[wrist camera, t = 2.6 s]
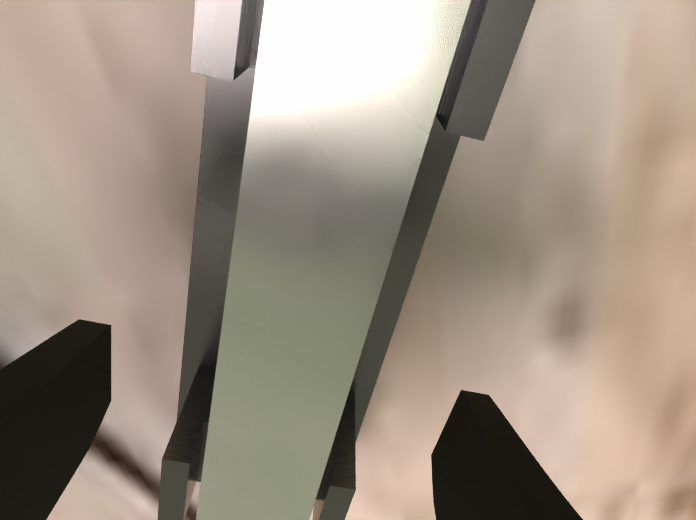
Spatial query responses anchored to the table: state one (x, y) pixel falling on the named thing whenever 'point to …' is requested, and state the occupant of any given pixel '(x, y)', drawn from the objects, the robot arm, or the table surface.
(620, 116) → the table surface
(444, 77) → the rail
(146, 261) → the table surface
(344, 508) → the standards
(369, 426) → the table surface
